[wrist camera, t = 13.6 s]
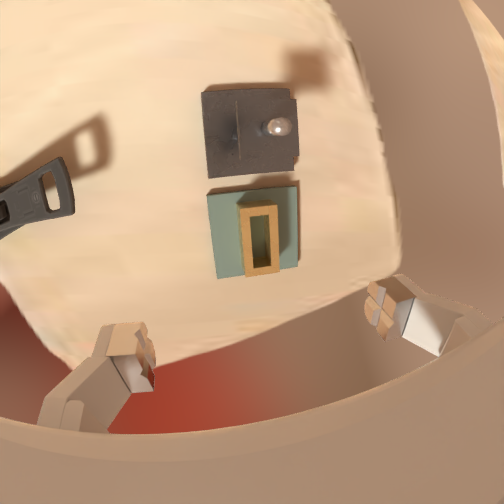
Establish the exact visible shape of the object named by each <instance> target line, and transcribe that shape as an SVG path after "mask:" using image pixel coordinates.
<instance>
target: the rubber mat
mask: <svg viewBox="0 0 504 504" xmlns="http://www.w3.org/2000/svg"><path fill="white" fill-rule="evenodd" d="M268 199H271V200H272V201H273V202H274V203H276V204H277V210H278V236H279V268H280V269H286V268H292V267H298V222H297V187H296V186H285V187H273V188H263V189H253V190H243V191H234V192H226V193H217V194H209V195H207V203H208V211H209V220H210V228H211V236H212V243H213V251H214V258H215V266H216V273H217V279H221V278H228V277H234V276H241V275H245V274H244V271H243V268H242V263H241V252H240V241H239V230H238V219H237V208H236V203H241V202H249V201H258V200H268ZM250 228H251V242H252V255H253V258H256V257H263V256H266V254H265V236H264V218H263V215H260V216H252V217H250Z"/></svg>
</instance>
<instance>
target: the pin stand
mask: <svg viewBox="0 0 504 504" xmlns="http://www.w3.org/2000/svg"><path fill="white" fill-rule="evenodd" d="M201 102H202V114H203V127H204V138H205V149H206V160H207V170H208V178H209V179H210V178H218V177H227V176H236V175H246V174H257V173H269V172H282V171H294V158H293V156H299V137H298V119H297V104H296V99H290V91H289V89H238V90H222V91H210V92H201Z"/></svg>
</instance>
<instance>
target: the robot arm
mask: <svg viewBox="0 0 504 504" xmlns="http://www.w3.org/2000/svg"><path fill="white" fill-rule="evenodd" d="M367 292H368V294H369V297H368V298H367V299H366V301H365V306H364V311H365V316H366V318H367V320H368V321H369V322H370V324H372V325H374V326H377V329H376V331H377V333H378V334H379V335H380V336H381V337H382V339H383V340H384V341H385V342H386V341H389V340H392V339H395V338H398V337H401V336H402V337H403V338H405V339H407V340H409V341H410V342H412V343H414V344H416V345H418V346H420V347H422V348H423V349H425V350H427V351H429V352H431V353H433V354H434V355H436V356H438V358H437V359H435V360H433V361H431V362H430V363H428V364H426V365H424V366H422V367H420V368H418V369H416V370H414V371H412V372H409V373H408V374H405V375H403V376H401V377H399V378H397V379H394V380H392V381H389V382H387V383H385V384H383V385H380V386H378V387H375V388H373V389H370V390H368V391H365V392H362V393H360V394H357V395H354V396H352V397H349V398H346V399H343V400H340V401H337V402H334V403H331V404H328V405H324V406H321V407H318V408H314V409H311V410H307V411H304V412H300V413H296V414H292V415H288V416H284V417H280V418H275V419H271V420H266V421H262V422H257V423H251V424H246V425H241V426H234V427H227V428H220V429H213V430H204V431H195V432H183V433H170V434H110V433H109V432H108V431H107V428H108V427H109V425H110V424H111V423H112V421H113V420H114V418H115V417H116V415H117V414H118V412H119V411H120V409H121V408H122V407H123V405H124V403H125V402H126V401H127V399H128V398H129V396H130V395H131V393H135V392H147V391H154V381H155V375H154V373H153V371H152V370H153V368H154V367H155V366H156V357H155V350H154V346H153V343H152V341H151V340H150V339H149V338H147V332H148V330H147V328H146V326H145V323H143V322H132V323H120V324H109V325H103V326H102V327H101V329H100V332H99V335H98V338H97V341H96V344H95V347H94V350H93V353H92V357H88V358H87V359H85V360H84V361H83V362H82V363H81V364H80V365H79V366H78V367H77V368H76V369H75V370H73V371H72V372H71V373H70V374H69V375H68V376H67V377H66V378H65V379H64V380H63V381H62V382H60V383H59V384H58V385H57V386H56V387H55V388H54V389H53V390H52V391H51V392H50V393H49V394H48V395H47V396H46V397H45V399H44V402H43V405H42V408H41V412H40V415H39V418H38V422H37V425H32V424H28V423H23V422H18V421H14V420H10V419H6V418H2V417H0V504H504V317H502V319H500V320H498V321H497V322H496V323H494V324H493V323H492V322H491V321H490V320H489V319H488V318H487V317H486V316H484V315H483V314H482V313H481V312H480V311H479V310H478V309H477V308H474V307H471V306H468V305H465V304H462V303H459V302H455V301H453V300H449V299H447V298H443V297H441V296H437V295H434V294H431V293H425V292H424V291H423V290H422V289H421V288H420V287H418V286H417V285H416V284H415V283H414V282H413V281H411V280H410V279H409V278H408V277H407V276H405V275H404V274H398V275H394V276H391V277H388V278H385V279H381V280H377V281H372V282H370V283H369V285H368V289H367Z"/></svg>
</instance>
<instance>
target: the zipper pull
mask: <svg viewBox="0 0 504 504" xmlns="http://www.w3.org/2000/svg"><path fill="white" fill-rule="evenodd" d="M49 171H51V172H52V175H53V177H54V179H55V183H56V187H57V191H58V195H59V200H60V209H57V210H54V211H53V210H51V209H50V208H49V205H48V201H47V197H46V193H45V189H44V185H43V181H42V176H43V175H44V173H47V172H49ZM74 213H75V199H74V193H73V188H72V184H71V180H70V176H69V173H68V170H67V167H66V165H65V163H64V161H63V158H62V157H58V158H56V159H54V160H52V161H51V162H49V163H47V164H45V165H44V166H42V167H40V168H39V169H37V170H36V171H34V172H32V173H31V174H29V175H28V176H26V177H25V178H23V179H21V180H20V181H17V182H14V183H11V184H8V185H6V186H3V187H0V240H1V239H2V238H4V237H5V236H7V235H8V234H10V233H12V232H13V231H15V230H17V229H18V228H20V227H22V226H23V225H25V224H28V223H33V222H38V221H42V220H47V219H54V218H59V217H64V216H69V215H73V214H74Z"/></svg>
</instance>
